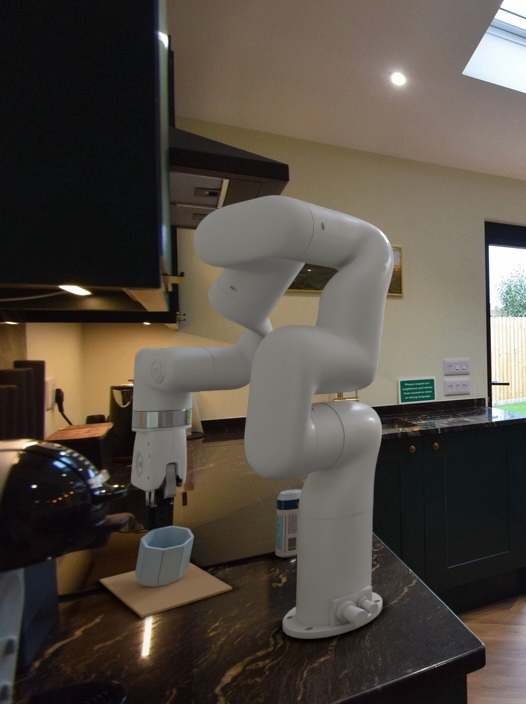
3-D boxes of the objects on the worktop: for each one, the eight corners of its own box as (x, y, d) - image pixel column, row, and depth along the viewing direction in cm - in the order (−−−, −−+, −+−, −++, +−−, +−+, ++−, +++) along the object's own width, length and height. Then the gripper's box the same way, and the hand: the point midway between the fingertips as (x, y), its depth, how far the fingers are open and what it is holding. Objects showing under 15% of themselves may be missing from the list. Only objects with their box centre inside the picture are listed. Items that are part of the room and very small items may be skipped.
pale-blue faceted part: (141, 591, 83) (123, 552, 89) (190, 578, 88) (170, 542, 94) (148, 553, 82) (129, 516, 88) (197, 542, 87) (176, 507, 93)
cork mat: (232, 589, 85) (232, 587, 85) (141, 618, 76) (141, 615, 76) (183, 560, 97) (183, 558, 97) (99, 581, 88) (99, 579, 88)
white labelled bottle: (311, 550, 103) (312, 488, 103) (292, 559, 98) (294, 495, 98) (288, 549, 103) (290, 487, 103) (269, 558, 98) (270, 494, 99)
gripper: (119, 418, 90) (115, 526, 89) (148, 426, 82) (143, 544, 81) (175, 414, 96) (172, 515, 96) (207, 421, 88) (203, 531, 87)
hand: (159, 528), depth 88 cm, fingers closed
